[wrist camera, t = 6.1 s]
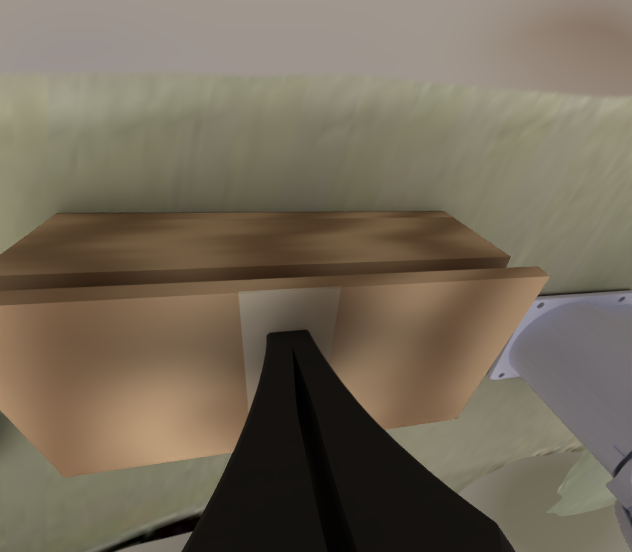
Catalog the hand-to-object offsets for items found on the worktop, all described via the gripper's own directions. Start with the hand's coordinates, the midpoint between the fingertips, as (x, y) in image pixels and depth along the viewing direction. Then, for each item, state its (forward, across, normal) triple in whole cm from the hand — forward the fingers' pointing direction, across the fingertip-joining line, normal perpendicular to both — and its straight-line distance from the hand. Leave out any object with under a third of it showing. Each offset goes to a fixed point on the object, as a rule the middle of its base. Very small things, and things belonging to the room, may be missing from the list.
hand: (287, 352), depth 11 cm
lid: (+1, 0, +2) cm, 2 cm away
